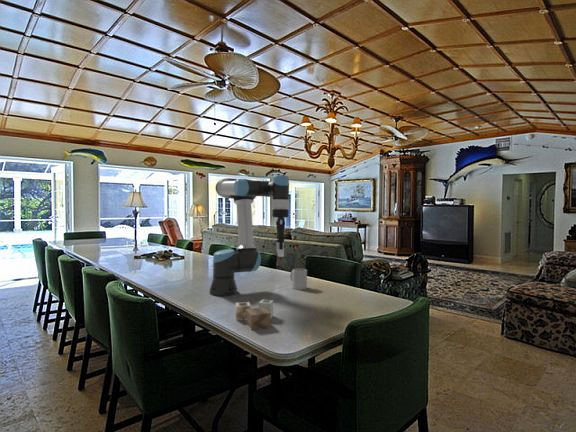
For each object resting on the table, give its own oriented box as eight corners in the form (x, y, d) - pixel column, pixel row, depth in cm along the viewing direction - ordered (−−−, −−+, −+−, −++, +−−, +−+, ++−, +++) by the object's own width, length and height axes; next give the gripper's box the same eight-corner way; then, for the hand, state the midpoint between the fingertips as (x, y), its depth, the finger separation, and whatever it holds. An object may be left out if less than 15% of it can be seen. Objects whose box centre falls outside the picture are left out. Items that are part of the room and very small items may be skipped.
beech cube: (236, 320, 145) (236, 306, 145) (235, 316, 151) (235, 302, 151) (250, 319, 146) (250, 305, 146) (249, 315, 152) (249, 301, 152)
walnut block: (251, 330, 134) (251, 315, 134) (245, 323, 142) (245, 309, 142) (270, 327, 138) (270, 312, 137) (263, 321, 145) (264, 307, 145)
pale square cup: (258, 318, 148) (258, 302, 148) (262, 315, 153) (262, 299, 152) (269, 319, 147) (270, 303, 146) (273, 316, 152) (273, 299, 151)
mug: (309, 288, 203) (310, 269, 203) (299, 290, 197) (299, 271, 197) (295, 284, 212) (295, 267, 211) (285, 286, 206) (285, 268, 206)
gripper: (290, 209, 146) (290, 258, 147) (286, 208, 171) (286, 251, 172) (273, 208, 146) (272, 258, 146) (271, 208, 171) (271, 251, 171)
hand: (280, 254), depth 159 cm, fingers open, 13 cm apart
